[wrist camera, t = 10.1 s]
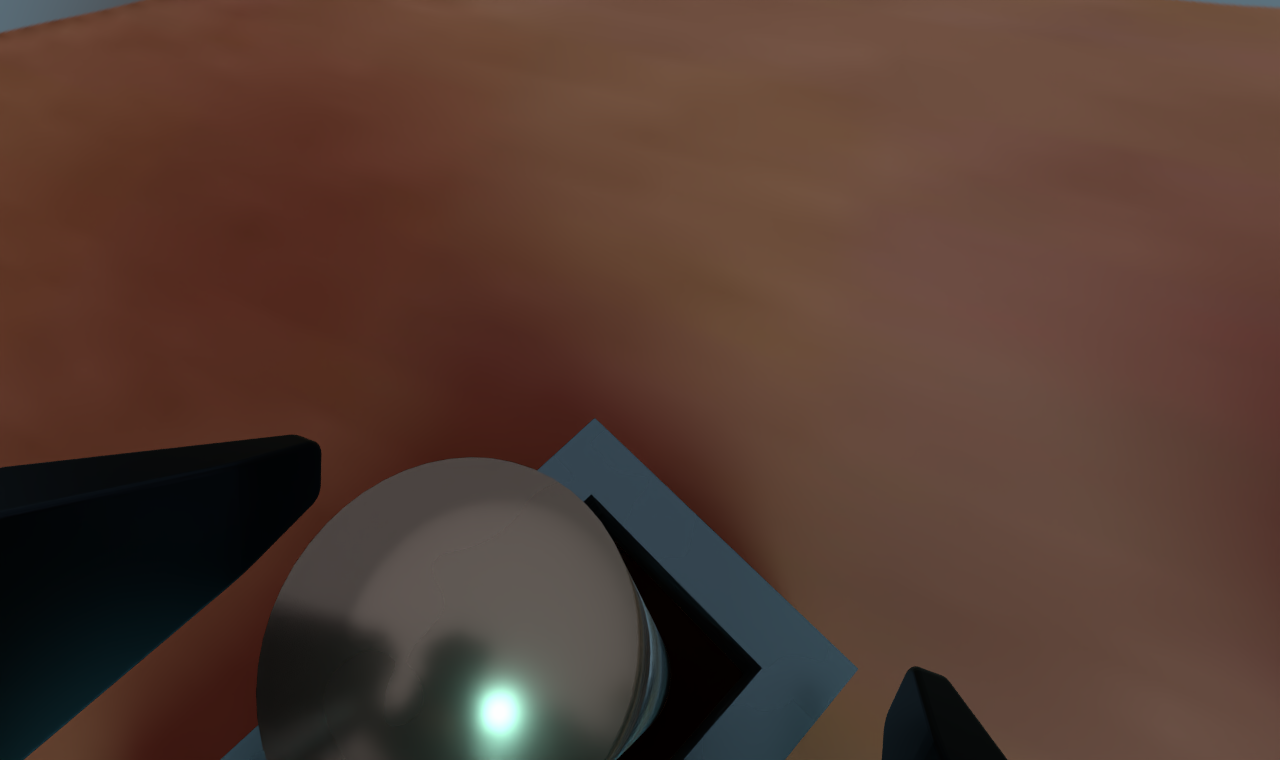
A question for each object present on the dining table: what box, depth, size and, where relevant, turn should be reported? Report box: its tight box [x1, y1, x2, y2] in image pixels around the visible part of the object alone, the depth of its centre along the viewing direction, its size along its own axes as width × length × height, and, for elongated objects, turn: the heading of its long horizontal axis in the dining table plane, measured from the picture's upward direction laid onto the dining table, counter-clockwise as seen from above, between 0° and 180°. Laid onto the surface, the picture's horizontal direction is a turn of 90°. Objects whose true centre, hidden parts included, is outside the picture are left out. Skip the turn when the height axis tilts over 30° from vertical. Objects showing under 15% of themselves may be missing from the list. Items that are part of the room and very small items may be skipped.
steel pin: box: [256, 457, 671, 760], centre depth 10 cm, size 3×3×12 cm
